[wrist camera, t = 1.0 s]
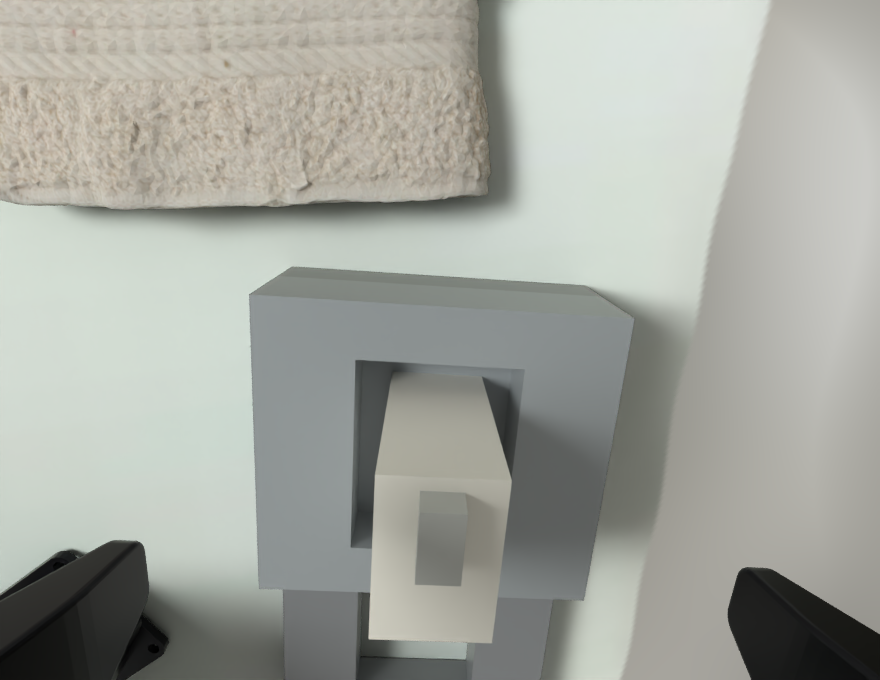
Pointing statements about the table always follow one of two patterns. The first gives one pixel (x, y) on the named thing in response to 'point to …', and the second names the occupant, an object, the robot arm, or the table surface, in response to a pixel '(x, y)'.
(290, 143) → the washcloth
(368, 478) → the socket panel
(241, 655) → the table surface
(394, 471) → the plug
